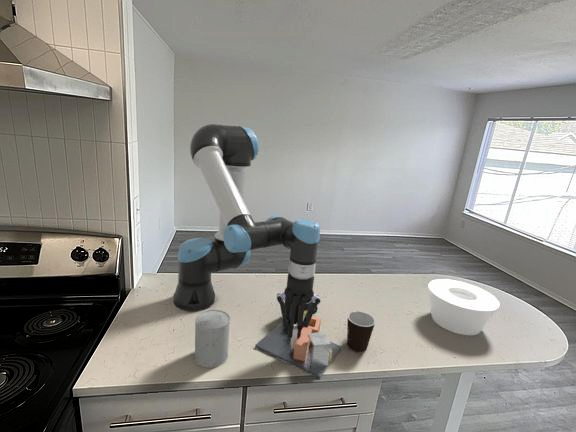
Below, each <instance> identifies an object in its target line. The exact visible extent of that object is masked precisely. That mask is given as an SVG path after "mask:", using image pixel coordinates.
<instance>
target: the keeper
mask: <svg viewBox="0 0 576 432" xmlns="http://www.w3.org/2000/svg"><path fill="white" fill-rule="evenodd" d="M308 338H309V340H310V342H311V344H312V346H313V347H312V355H311V363H310V366H311V368H314V367H323V366H328V362H331V356H332V350H331V349H330V346H331V343H330V342H331V341H330V340H329V337H328V336H327V334H326V333H325V332H323V331H321V332H320V331H319V333H308ZM329 341H330V342H329ZM331 363H332V362H331ZM328 367H329V366H328Z"/></svg>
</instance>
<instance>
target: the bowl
mask: <svg viewBox="0 0 576 432" xmlns="http://www.w3.org/2000/svg"><path fill="white" fill-rule="evenodd" d="M427 285H428V294H429V295H428V296H429V305H430V314H431V318H432V320H433V322H435V323H436V324H437V325H438V326H440V327H441V328H443V329H445V330H447V331H449V332H451V333H455V334H458V335H462V336H476V335H479V334H480V333H481V332H482V331H483V329H484V327H486V326H487V323H488V322H489V321H490V320H491V318H492V317H493V316H494V314H495V313H496V312H497V310H498V309H499V307H500V304H501V303H500V301H499V300H498V299H497V298H496V296H495V295H494V294H492V293H490V292H489V291H487V290H484V288H481V287H479V286H476V285H473V284H470V283H467V282H464V281H460V280H455V279H447V278H440V279H439V278H437V279H432V280H430V282H429V283H428V284H427Z"/></svg>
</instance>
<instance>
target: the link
mask: <svg viewBox="0 0 576 432" xmlns="http://www.w3.org/2000/svg"><path fill="white" fill-rule="evenodd" d="M321 321H322V318H319V317H315V316H312V318H311V322H310V326H308V327H307V328H305V327H303V328H302V330H301V336H300V338H297V340H296V342H295V348H294V357H293V358H294V359H298V360H302V361H305V360H306V356H307V353H308V350H309V346H310V343H311V342H310V340H309V338H308V333H319V332H320V329H321Z"/></svg>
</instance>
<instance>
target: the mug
mask: <svg viewBox="0 0 576 432" xmlns="http://www.w3.org/2000/svg"><path fill="white" fill-rule="evenodd" d="M311 299H312V298H311ZM311 299H310V300H309V301H308V302H307V303H306V304H305V309H304V311H307V310H308V308H309V305H310V303H311V301H312V300H311ZM284 304H285V310H286V316H287V320H288V321H289V317H290V308H291V303H290V301H289V300H288V298H287V297H285V301H284ZM318 309H319V308H318V305H317V306H316V308H315V311H314V313H313V315H314V314H316V313H318ZM298 311H299V305H296V310H295V319H294V324H297V320H298Z"/></svg>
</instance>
